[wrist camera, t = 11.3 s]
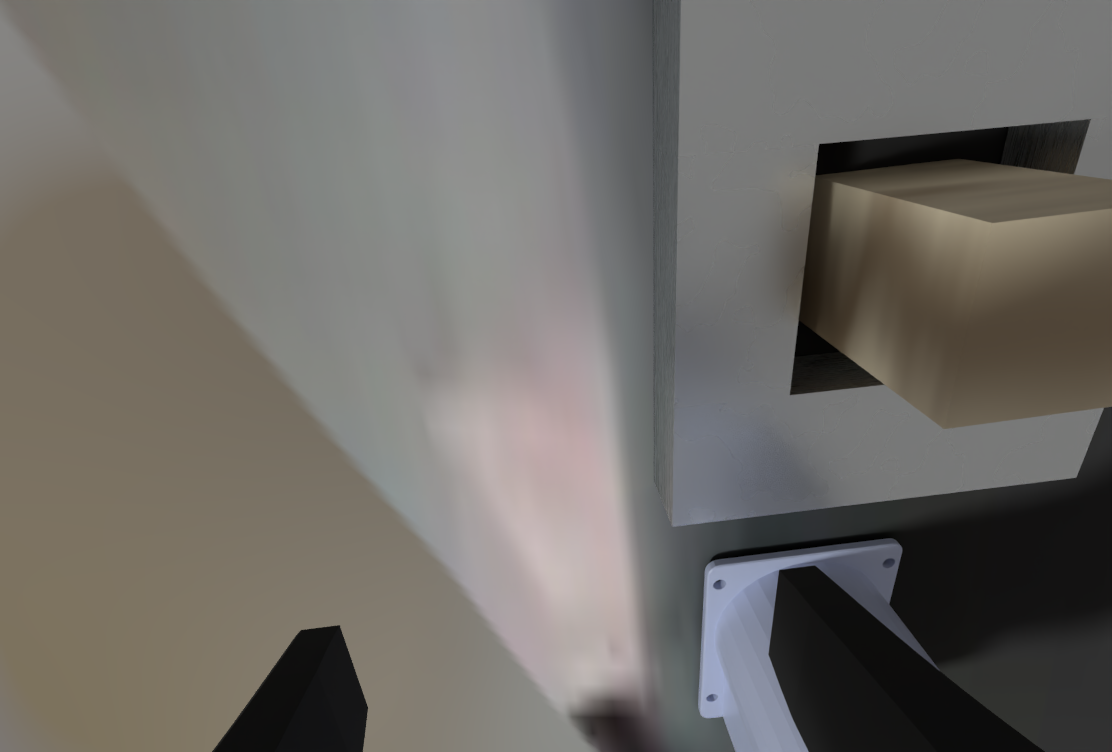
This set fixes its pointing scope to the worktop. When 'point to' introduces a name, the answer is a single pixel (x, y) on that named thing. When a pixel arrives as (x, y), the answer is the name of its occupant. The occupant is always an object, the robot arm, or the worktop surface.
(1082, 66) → the socket plate
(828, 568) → the robot arm
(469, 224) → the worktop surface
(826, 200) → the birch block
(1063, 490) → the worktop surface
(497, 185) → the worktop surface
